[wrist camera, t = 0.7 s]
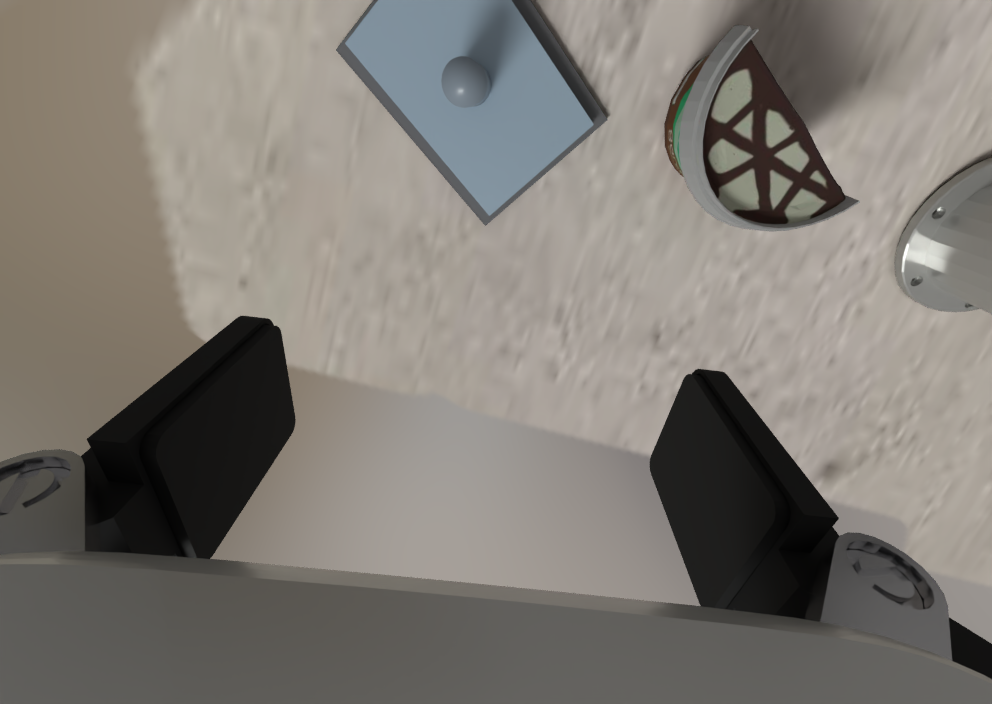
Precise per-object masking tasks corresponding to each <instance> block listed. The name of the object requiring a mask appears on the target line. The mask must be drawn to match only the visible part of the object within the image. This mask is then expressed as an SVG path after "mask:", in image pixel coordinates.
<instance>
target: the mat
mask: <svg viewBox="0 0 992 704" xmlns="http://www.w3.org/2000/svg"><path fill="white" fill-rule="evenodd" d="M377 1H378V0H374V1H373V2H372V3H371V5H370V6H369V7H368V8H367V10H366V11H365V12H364V14H363V15H362V16H361V18H360V19H359V20H358V22H357V23H356V24H355V26H354V27H353V28H352V29H351V31H350V32H349V33H348V35H347V36H346V37H345V39H344V40H343V41H342V43H341V44H340V45H339V47H338V48H337V49H336V51H337V52H338V53H339V54H340V55H341V57H342V58H343V59H344V60H345V61H346V62H347V64H348V65H349V66H350V67H351V68H352V69H353V71H354V72H355V73H356V74H357V75H358V77H359V78H360V79H361V80H362V81H363V82H364V84H365V85H366V86H367V87H368V88H369V89H370V91H371V92H372V93H373V94H374V95H375V97H376V98H377V99H378V100H379V101H380V102H381V104H382V105H383V106H384V107H385V108H386V109H387V111H388V112H389V113H390V114H391V115H392V117H393V118H394V119H395V120H396V121H397V122H398V124H399V125H400V126H401V127H402V128H403V129H404V131H405V132H406V133H407V134H408V135H409V137H410V138H411V139H412V140H413V141H414V142H415V144H416V145H417V146H418V147H419V148H420V150H421V151H422V152H423V153H424V154H425V155H426V157H427V158H428V159H429V160H430V161H431V162H432V164H433V165H434V166H435V167H436V168H437V170H438V171H439V172H440V173H441V174H442V175H443V177H444V178H445V179H446V180H447V181H448V182H449V184H450V185H451V186H452V187H453V188H454V190H455V191H456V192H457V193H458V194H459V195H460V197H461V198H462V199H463V200H464V201H465V202H466V204H467V205H468V206H469V207H470V208H471V210H472V211H473V212H474V213H475V214H476V215H477V217H478V218H479V219H480V220H481V221H482V222H483V224H484V225H485V226H486V225H487V224H488V223H489V222H490V221H491V220H493V219H494V218H495V217H496V216H497V215H498V214H499V213H501V212H502V211H503V210H504V209H505V208H506V207H508V206H509V205H510V204H511V203H512V202H513V201H514V200H516V199H517V198H518V197H519V196H520V195H521V194H523V193H524V192H525V191H526V190H527V189H528V188H529V187H531V186H532V185H533V184H534V183H535V182H536V181H537V180H539V179H540V178H541V177H542V176H543V175H544V174H546V173H547V172H548V171H549V170H550V169H551V168H552V167H554V166H555V165H556V164H557V163H558V162H559V161H561V160H562V159H563V158H564V157H565V156H566V155H567V154H569V153H570V152H571V151H572V150H573V149H574V148H576V147H577V146H578V145H579V144H580V143H581V142H582V141H584V140H585V139H586V138H587V137H588V136H589V135H590V134H592V133H593V132H594V131H595V130H596V129H597V128H599V127H600V126H601V125H602V124H603V123H604V122H605V121H607V118H606V117H605V115H604V113H603V112H602V110H601V109H600V107H599V106H598V104H597V103H596V101H595V100H594V98H593V96H592V95H591V93H590V92H589V90H588V89H587V87H586V86H585V84H584V83H583V81H582V79H581V78H580V76H579V75H578V73H577V72H576V70H575V69H574V67H573V66H572V64H571V62H570V61H569V59H568V58H567V56H566V55H565V53H564V52H563V50H562V49H561V47H560V45H559V44H558V42H557V41H556V39H555V38H554V36H553V35H552V33H551V31H550V30H549V28H548V27H547V25H546V24H545V22H544V21H543V19H542V18H541V16H540V14H539V13H538V11H537V10H536V8H535V7H534V5H533V4H532V2H531V1H530V0H512V2H513V3H514V5H515V6H516V8H517V9H518V11H519V12H520V14H521V15H522V17H523V18H524V20H525V21H526V23H527V24H528V26H529V27H530V29H531V30H532V32H533V33H534V35H535V36H536V38H537V39H538V41H539V42H540V44H541V45H542V47H543V48H544V50H545V52H546V53H547V55H548V56H549V58H550V59H551V61H552V62H553V64H554V65H555V67H556V68H557V70H558V71H559V73H560V74H561V76H562V77H563V79H564V80H565V82H566V83H567V85H568V86H569V88H570V89H571V91H572V92H573V94H574V95H575V97H576V98H577V100H578V101H579V103H580V104H581V106H582V107H583V109H584V110H585V112H586V113H587V115H588V116H589V118H590V119H591V121H592V122H593V124H594V125H593V126H592V127H591V128H589V129H588V130H587V131H586V132H585V133H584V134H583V135H581V136H580V137H579V138H578V139H577V140H576V141H575V142H573V143H572V144H571V145H570V146H569V147H568V148H567V149H565V150H564V151H563V152H562V153H561V154H560V155H559V156H557V157H556V158H555V159H554V160H553V161H552V162H551V163H549V164H548V165H547V166H546V167H545V168H544V169H543V170H541V171H540V172H539V173H538V174H537V175H536V176H535V177H533V178H532V179H531V180H530V181H529V182H528V183H527V184H525V185H524V186H523V187H522V188H521V189H520V190H519V191H517V192H516V193H515V194H514V195H513V196H512V197H511V198H509V199H508V200H507V201H506V202H505V203H504V204H503V205H501V206H500V207H499V208H498V209H497V210H496V211H495V212H493V213H492V214H491V215H490V216H489V215H488V214H487V213H486V211H485V210H484V209H483V208H482V207H481V206H480V204H479V203H478V202H477V201H476V200H475V198H474V197H473V196H472V195H471V194H470V192H469V191H468V190H467V189H466V188H465V186H464V185H463V184H462V183H461V182H460V180H459V179H458V178H457V177H456V176H455V174H454V173H453V172H452V171H451V170H450V168H449V167H448V166H447V165H446V164H445V162H444V161H443V160H442V159H441V158H440V156H439V155H438V154H437V153H436V152H435V151H434V149H433V148H432V147H431V146H430V145H429V143H428V142H427V141H426V140H425V139H424V137H423V136H422V135H421V134H420V133H419V131H418V130H417V129H416V128H415V127H414V125H413V124H412V123H411V122H410V121H409V119H408V118H407V117H406V116H405V115H404V113H403V112H402V111H401V110H400V109H399V107H398V106H397V105H396V104H395V103H394V102H393V100H392V99H391V98H390V97H389V96H388V94H387V93H386V92H385V91H384V90H383V88H382V87H381V86H380V85H379V84H378V82H377V81H376V80H375V79H374V78H373V76H372V75H371V74H370V73H369V72H368V70H367V69H366V68H365V67H364V66H363V64H362V63H361V62H360V61H359V60H358V58H357V57H356V56H355V55H354V54H353V52H352V51H351V50H350V49H349V48H348V47H347V45H346V44H345V43H346V41H347V40H348V39H349V37H350V36H351V35H352V34H353V32H354V31H355V30H356V28H357V27H358V26H359V24H360V23H361V22H362V20H363V19H364V18H365V17H366V15H367V14H368V13H369V11H370V10H371V9H372V7H373V6H374V5H375V4H376V2H377Z"/></svg>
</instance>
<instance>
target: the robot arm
mask: <svg viewBox="0 0 992 704" xmlns="http://www.w3.org/2000/svg"><path fill="white" fill-rule="evenodd" d="M894 264H895V276H896V279H897V282H898V284H899V286H900V288H901V289H902V290H903V292H904V293H905V294H906V295H907V296H908V297H910V298H911V299H912V300H914V301H915V302H917V303H919V304H921V305H923V306H925V307H927V308H931V309H934V310H938V311H945V312H965V311H972V310H977V309H982V310H984V311H986V312H988V313H990V314H992V157H991V158H988V159H986V160H984V161H982V162H979V163H977V164H975V165H973V166H972V167H970V168H968V169H966V170H965V171H963V172H961V173H960V174H958V175H956V176H955V177H954V178H952V179H951V180H950V181H948V182H947V183H946V184H945V185H943V186H942V187H941V188H939V189H938V190H937V191H936V192H935V193H934V194H933V195H932V196H931V197H930V198H929V199H928V200H927V201H926V202H925V203H924V204H923V205H922V206H921V208H920V209H919V210H918V211H917V213H916V214H915V215H914V216H913V218H912V219H911V221H910V222H909V224H908V226H907V227H906V229H905V231H904V232H903V234H902V237H901V239H900V242H899V244H898V247H897V251H896V256H895V262H894ZM294 427H295V413H294V407H293V401H292V395H291V389H290V383H289V377H288V371H287V365H286V359H285V353H284V347H283V341H282V334H281V330H280V328H279V327H277V326H274V325H273V323H272V321H271V320H270V319H266V318H258V317H249V316H240V317H238V318H237V319H235V320H234V321H233V322H232V323H230V324H229V325H228V326H227V327H225V328H224V329H223V330H222V331H220V332H219V333H218V334H217V335H215V336H214V337H213V338H212V339H210V340H209V341H208V342H207V343H206V344H204V345H203V346H202V347H201V348H199V349H198V350H197V351H196V352H194V353H193V354H192V355H191V356H190V357H188V358H187V359H186V360H184V361H183V362H182V363H181V364H180V365H178V366H177V367H176V368H175V369H173V370H172V371H171V372H170V373H168V374H167V375H166V376H164V377H163V378H162V379H161V380H160V381H158V382H157V383H156V384H155V385H153V386H152V387H151V388H150V389H148V390H147V391H146V392H145V393H143V394H142V395H141V396H140V397H139V398H137V399H136V400H135V401H133V402H132V403H131V404H130V405H128V406H127V407H126V408H125V409H123V410H122V411H121V412H120V413H119V414H117V415H116V416H115V417H114V418H112V419H111V420H110V421H109V422H107V423H106V424H105V425H104V426H102V427H101V428H100V429H99V430H98V431H96V432H95V433H94V434H92V435H91V436H90V437H89V438H87V441H88V443H89V445H90V446H91V448H90V449H89V450H88V451H87V452H85V453H84V454H83V455H82V456H79V455H77V454H76V453H74V452H72V451H66V450H60V449H59V450H42V451H37V452H32V453H27V454H23V455H19V456H17V457H13V458H10V459H7V460H5V461H2V462H0V704H992V644H991V643H989V642H988V641H986V640H985V639H983V638H981V637H980V636H978V635H976V634H975V633H973V632H972V631H970V630H969V629H967V628H965V627H964V626H962V625H960V624H959V623H957V622H956V621H954V620H952V619H951V618H949V615H948V605H947V602H946V599H945V596H944V593H943V592H942V591H941V589H940V587H939V586H938V584H937V583H936V581H935V580H934V579H933V578H932V577H931V576H930V575H929V574H928V573H927V572H926V571H925V569H924V568H923V567H922V566H920V565H919V564H918V563H917V562H915V561H914V560H913V559H912V558H910V557H909V556H908V555H907V554H905V553H904V552H902V551H900V550H899V549H897V548H895V547H894V546H892V545H890V544H888V543H886V542H884V541H882V540H880V539H877V538H875V537H872V536H869V535H865V534H861V533H845V534H843V535H840V536H839V535H838V534H837V532H836V531H835V530H834V528H833V527H832V526H833V525H834V524H835V522H836V521H837V520H838V517H837V515H836V514H835V513H834V511H833V510H832V509H831V508H830V506H829V505H828V504H827V502H826V501H825V500H824V499H823V497H822V496H821V495H820V493H819V492H818V491H817V490H816V488H815V487H814V486H813V485H812V483H811V482H810V481H809V479H808V478H807V477H806V476H805V474H804V473H803V472H802V470H801V469H800V468H799V467H798V465H797V464H796V463H795V461H794V460H793V459H792V458H791V456H790V455H789V454H788V452H787V451H786V450H785V449H784V447H783V446H782V445H781V444H780V442H779V441H778V440H777V438H776V437H775V436H774V435H773V433H772V432H771V431H770V429H769V428H768V427H767V426H766V424H765V423H764V422H763V420H762V419H761V418H760V417H759V415H758V414H757V413H756V411H755V410H754V409H753V408H752V406H751V405H750V404H749V402H748V401H747V400H746V399H745V397H744V396H743V395H742V394H741V392H740V391H739V390H738V388H737V387H736V386H735V385H734V383H733V382H732V381H731V379H730V378H729V377H728V376H727V374H725V373H724V372H720V371H712V370H703V369H697V370H695V371H694V372H693V373H692V374H688V375H686V376H685V378H684V380H683V382H682V384H681V387H680V389H679V391H678V394H677V396H676V398H675V401H674V403H673V406H672V408H671V410H670V413H669V415H668V417H667V420H666V422H665V425H664V427H663V429H662V432H661V434H660V436H659V439H658V441H657V444H656V446H655V448H654V451H653V453H652V455H651V458H650V471H651V475H652V477H653V480H654V483H655V485H656V488H657V491H658V493H659V496H660V499H661V501H662V504H663V507H664V510H665V512H666V515H667V517H668V520H669V523H670V526H671V528H672V531H673V533H674V536H675V539H676V541H677V544H678V547H679V550H680V552H681V555H682V558H683V560H684V563H685V565H686V568H687V571H688V574H689V576H690V579H691V582H692V584H693V587H694V590H695V592H696V595H697V598H698V600H699V603H700V605H701V606H692V605H682V604H673V603H663V602H653V601H644V600H634V599H624V598H615V597H605V596H594V595H585V594H576V593H566V592H555V591H546V590H536V589H525V588H515V587H505V586H494V585H484V584H474V583H463V582H453V581H443V580H432V579H422V578H412V577H401V576H391V575H380V574H370V573H358V572H348V571H337V570H326V569H315V568H304V567H293V566H282V565H271V564H259V563H249V562H239V561H228V560H215V559H210V558H211V557H212V556H213V554H214V553H215V551H216V549H217V548H218V546H219V545H220V543H221V542H222V540H223V539H224V537H225V536H226V534H227V532H228V531H229V530H230V528H231V527H232V525H233V523H234V522H235V520H236V519H237V517H238V516H239V514H240V513H241V511H242V510H243V508H244V507H245V505H246V504H247V502H248V500H249V499H250V497H251V496H252V494H253V493H254V491H255V489H256V488H257V487H258V485H259V484H260V482H261V480H262V479H263V477H264V476H265V474H266V473H267V471H268V470H269V468H270V467H271V465H272V463H273V462H274V460H275V459H276V457H277V456H278V454H279V453H280V451H281V450H282V448H283V447H284V445H285V444H286V442H287V440H288V439H289V437H290V436H291V434H292V432H293V430H294Z"/></svg>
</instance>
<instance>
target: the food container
mask: <svg viewBox="0 0 992 704" xmlns="http://www.w3.org/2000/svg"><path fill="white" fill-rule="evenodd" d="M758 31H759V29H754V30H752V29H751V28H750V26H741V25H735V26H734V27H733V28H732V29H731V30H730V31H729V32H728V33H727V34H726V36H725V37H724V38H723V39H722V40H721V41H720V42H719V44H718V45H717V46H716V48H715V49H714V50H713V52H712V53H711V54H710V55H708V56H707V57H705V58H703V59H702V60H700V61H698V62H697V63H696V64H695V66H694V67H693V68H692V69H691V70H690V71H689V72H688V73H687V74H686V76H685V77H684V78H683V80H682V82H681V84H680V85H679V87H678V89H677V91H676V92H675V94H674V96H673V98H672V99H671V102H670V106H669V110H668V113H667V117H666V121H665V147H666V150H667V153H668V156H669V160H670V161H671V163H672V165H673V166H674V168H675V169H676V170H677V171H678V172H679V173H680V175H682V176H683V177H684V179H685V182H686V184H687V187H688V189H689V191H690V192H691V194H692V195H693V197H694V199H695V200H696V201H697V203H698V204H699V205H700V206H701V207H702V208H703V209H704V210H705V211H706V212H707V213H709V214H710V215H712V216H713V217H714V218H716V219H717V220H720V221H722V222H724V223H726V224H728V225H731V226H735V227H739V228H743V229H750V230H761V231H786V230H792V229H797V228H802V227H805V226H810V225H813V224H816V223H819V222H822V221H825V220H828V219H830V218H832V217H834V216H836V215H838V214H840V213H842V212H845V211H846V210H848V209H849V208H851V207H853V206H854V205H856V204H858V203H859V202H860V201H858V200H856V199H853V198H851V197H848V196H846V195H844V193H843V192H842V189H841V187H840V186H839V185H838V184H837V183H836V181H835V180H834V178H833V176H832V175H831V173H830V171H829V170H828V168H827V166H826V164H825V163H824V161H823V159H822V157H821V155H820V153H819V151H818V150H817V148H816V146H815V144H814V141H813V139H812V137H811V135H810V133H809V132H808V130H807V128H806V126H805V124H804V122H803V121H802V119H801V118H800V116H799V115H798V114H797V112H796V111H795V109H794V108H793V106H792V105H791V104H790V102H789V100H788V99H787V97H786V96H785V94H784V93H783V91H782V90H781V88H780V87H779V85H778V84H777V82H776V80H775V79H774V77H773V75H772V74H771V72H770V70H769V69H768V67H767V65H766V64H765V62H764V60H763V59H762V57H761V55H760V54H759V52H758V50H757V49H756V47H755V45H754V44H753V42H752V40H751V38H752V37H753V36H754V35H755V34H756V33H757V32H758Z"/></svg>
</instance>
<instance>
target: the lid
mask: <svg viewBox="0 0 992 704" xmlns="http://www.w3.org/2000/svg"><path fill="white" fill-rule="evenodd" d="M345 44H346V45H347V47H348V48H349V49H350V50H351V51H352V52H353V54H354V55H355V56H356V57H357V58H358V60H359V61H360V62H361V63H362V64H363V66H364V67H365V68H366V69H367V70H368V72H369V73H370V74H371V75H372V76H373V78H374V79H375V80H376V81H377V82H378V84H379V85H380V86H381V87H382V88H383V90H384V91H385V92H386V93H387V94H388V96H389V97H390V98H391V99H392V100H393V102H394V103H395V104H396V105H397V106H398V107H399V109H400V110H401V111H402V112H403V113H404V115H405V116H406V117H407V118H408V119H409V121H410V122H411V123H412V124H413V125H414V127H415V128H416V129H417V130H418V131H419V133H420V134H421V135H422V136H423V137H424V139H425V140H426V141H427V142H428V143H429V145H430V146H431V147H432V148H433V149H434V151H435V152H436V153H437V154H438V155H439V156H440V158H441V159H442V160H443V161H444V162H445V164H446V165H447V166H448V167H449V168H450V170H451V171H452V172H453V173H454V174H455V176H456V177H457V178H458V179H459V180H460V182H461V183H462V184H463V185H464V186H465V188H466V189H467V190H468V191H469V192H470V194H471V195H472V196H473V197H474V198H475V200H476V201H477V202H478V203H479V204H480V206H481V207H482V208H483V209H484V210H485V211H486V213H487V214H488V215H489V216H490V215H491V214H492V213H493V212H495V211H496V210H497V209H498V208H499V207H500V206H501V205H503V204H504V203H505V202H506V201H507V200H508V199H509V198H511V197H512V196H513V195H514V194H515V193H516V192H517V191H519V190H520V189H521V188H522V187H523V186H524V185H525V184H527V183H528V182H529V181H530V180H531V179H532V178H533V177H535V176H536V175H537V174H538V173H539V172H540V171H541V170H543V169H544V168H545V167H546V166H547V165H548V164H549V163H551V162H552V161H553V160H554V159H555V158H556V157H557V156H559V155H560V154H561V153H562V152H563V151H564V150H565V149H567V148H568V147H569V146H570V145H571V144H572V143H573V142H575V141H576V140H577V139H578V138H579V137H580V136H581V135H583V134H584V133H585V132H586V131H587V130H588V129H589V128H591V127H592V126H593V125H594V124H593V122H592V121H591V119H590V118H589V116H588V115H587V113H586V112H585V110H584V109H583V107H582V106H581V104H580V103H579V101H578V100H577V98H576V97H575V95H574V94H573V92H572V91H571V89H570V88H569V86H568V85H567V83H566V82H565V80H564V79H563V77H562V76H561V74H560V73H559V71H558V70H557V68H556V67H555V65H554V64H553V62H552V61H551V59H550V58H549V56H548V55H547V53H546V52H545V50H544V48H543V47H542V45H541V44H540V42H539V41H538V39H537V38H536V36H535V35H534V33H533V32H532V30H531V29H530V27H529V26H528V24H527V23H526V21H525V20H524V18H523V17H522V15H521V14H520V12H519V11H518V9H517V8H516V6H515V5H514V3H513V2H512V0H378V1H377V2H376V4H375V5H374V6H373V7H372V9H371V10H370V11H369V13H368V14H367V15H366V17H365V18H364V19H363V20H362V22H361V23H360V24H359V26H358V27H357V28H356V30H355V31H354V32H353V34H352V35H351V36H350V37H349V39H348V40H347V41H346V43H345Z"/></svg>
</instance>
